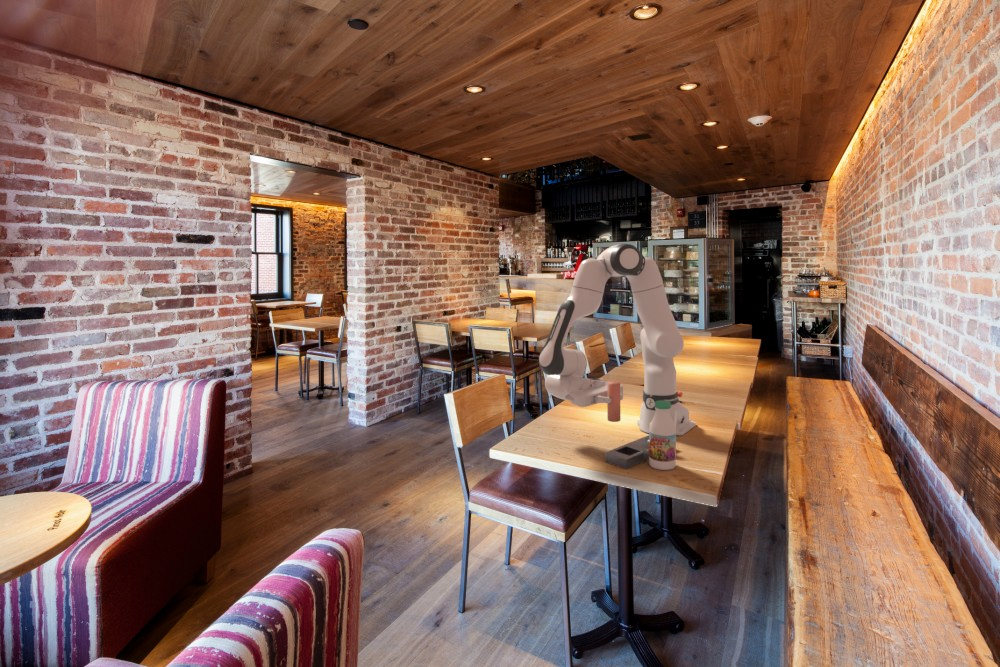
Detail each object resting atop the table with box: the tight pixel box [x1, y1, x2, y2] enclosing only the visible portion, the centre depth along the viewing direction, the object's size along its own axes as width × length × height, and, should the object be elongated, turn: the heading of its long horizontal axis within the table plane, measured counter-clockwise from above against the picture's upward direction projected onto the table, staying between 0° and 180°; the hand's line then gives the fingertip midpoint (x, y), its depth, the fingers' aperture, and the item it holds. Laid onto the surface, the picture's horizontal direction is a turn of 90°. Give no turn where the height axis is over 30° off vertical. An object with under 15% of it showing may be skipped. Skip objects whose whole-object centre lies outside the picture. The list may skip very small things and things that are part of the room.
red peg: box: [606, 381, 621, 423], centre depth 156 cm, size 4×4×12 cm
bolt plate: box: [604, 422, 651, 470], centre depth 157 cm, size 25×8×9 cm, turn 128°
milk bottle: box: [648, 400, 677, 471], centre depth 148 cm, size 8×8×20 cm
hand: (616, 399), depth 155 cm, fingers closed on red peg, 4 cm apart
